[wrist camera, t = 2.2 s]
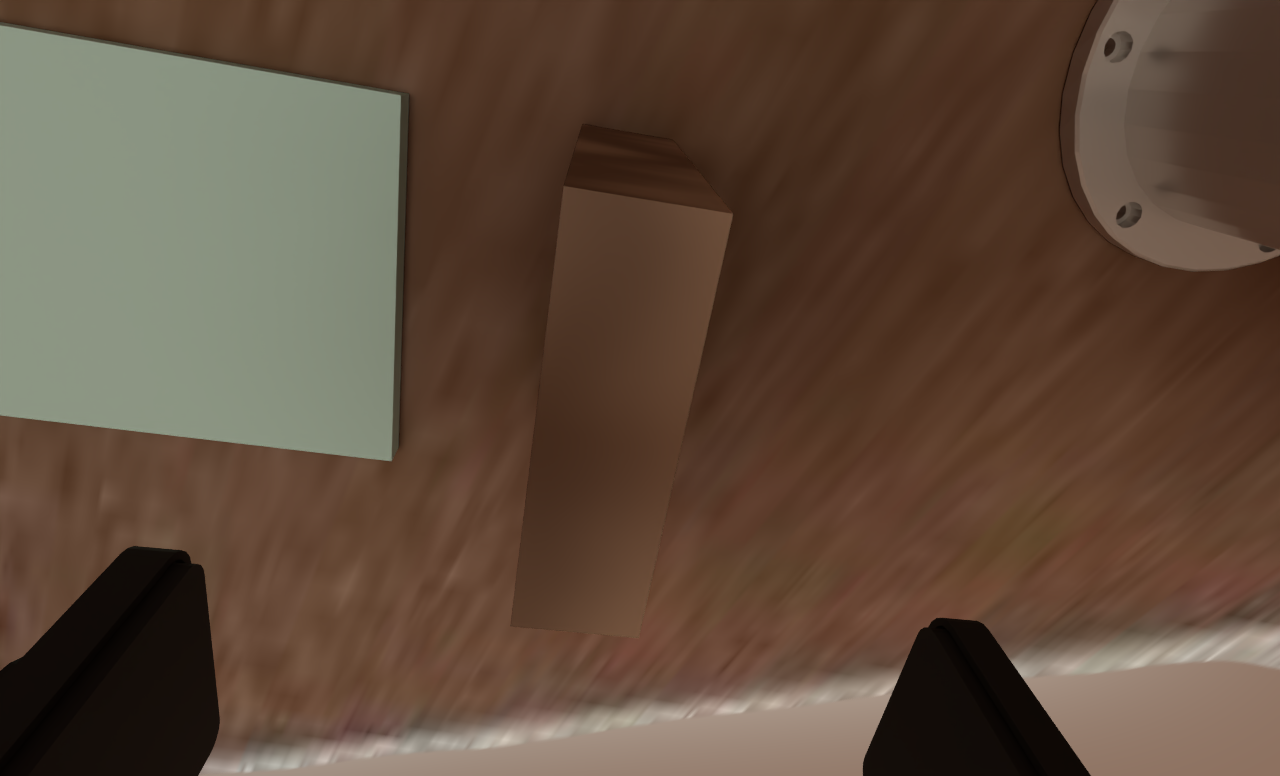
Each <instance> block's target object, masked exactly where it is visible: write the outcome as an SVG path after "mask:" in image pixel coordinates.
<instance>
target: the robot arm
mask: <svg viewBox="0 0 1280 776" xmlns="http://www.w3.org/2000/svg"><path fill="white" fill-rule="evenodd" d="M1106 43H1107V47H1106V50H1105V52H1104V49H1105V44H1106ZM1060 141H1061V151H1062V161H1063V168H1064V171H1065V174H1066V177H1067V180H1068V183H1069V186H1070V189H1071V192H1072V195H1073V198H1074V199H1075V201H1076V203H1077V204H1078V206H1079V207H1080V209H1081V211H1082V212H1083V214H1084V216H1085V217H1086V219H1087V221H1088V222H1089V223H1090V224H1091V225H1092V226H1093V227H1094V228H1095V229H1096V230H1097V231H1098V232H1099V233H1100V234H1101V235H1102V236H1103V237H1104V238H1105V239H1106V240H1107V241H1109V242H1110V243H1112V244H1114V245H1115V246H1117V247H1119V248H1121V249H1122V250H1124V251H1126V252H1128V253H1129V254H1131V255H1133V256H1135V257H1138V258H1141V259H1144V260H1147V261H1150V262H1152V263H1155V264H1158V265H1160V266H1163V267H1169V268H1174V269H1180V270H1186V271H1192V272H1197V271H1225V270H1230V269H1235V268H1240V267H1244V266H1249V265H1254V264H1258V263H1262V262H1264V261H1267V260H1269V259H1272V258H1275V257H1277V256H1280V0H1098V1H1097V3H1096V5H1095V6H1094V8H1093V9H1092V11H1091V13H1090V15H1089V18H1088V20H1087V22H1086V25H1085V27H1084V29H1083V32H1082V34H1081V36H1080V39H1079V41H1078V43H1077V46H1076V48H1075V50H1074V53H1073V56H1072V60H1071V64H1070V68H1069V72H1068V76H1067V79H1066V83H1065V87H1064V91H1063V98H1062V109H1061V121H1060ZM219 724H220V717H219V707H218V698H217V688H216V679H215V669H214V660H213V650H212V641H211V632H210V622H209V613H208V603H207V594H206V584H205V575H204V570H203V568H202V566H201V565H198V564H191V560H190V556H189V555H188V554H187V552H185V551H182V550H172V549H161V548H149V547H138V546H133V547H130V548H127V549H126V550H125V551H123V552H122V553H121V554H120V555H119V556H118V557H117V558H116V559H115V560H114V561H113V562H112V563H111V564H110V566H109V567H108V568H107V569H106V570H105V571H104V572H103V573H102V574H101V575H100V576H99V577H98V578H97V579H96V580H95V581H94V582H93V583H92V585H91V586H90V587H89V588H88V589H87V590H86V591H85V592H84V593H83V594H82V595H81V596H80V597H79V598H78V599H77V600H76V601H75V602H74V604H73V605H72V606H71V607H70V608H69V609H68V610H67V611H66V612H65V613H64V614H63V615H62V616H61V617H60V618H59V619H58V620H57V621H56V623H55V624H54V625H53V626H52V627H51V628H50V629H49V630H48V631H47V632H46V633H45V634H44V635H43V636H42V637H41V638H40V639H39V640H38V642H37V643H36V644H35V645H34V646H33V647H32V648H31V649H30V650H29V651H28V652H27V653H26V654H25V655H24V656H23V657H22V658H19V659H17V660H15V661H13V662H11V663H9V664H8V665H7V666H6V667H4V668H3V669H2V670H1V671H0V776H198V775H199V773H200V771H201V770H202V768H203V766H204V764H205V762H206V760H207V759H208V757H209V755H210V753H211V751H212V749H213V747H214V744H215V741H216V738H217V734H218V730H219ZM863 776H1091V775H1090V774H1089V772H1088V771H1087V770H1086V768H1085V767H1084V765H1083V764H1082V763H1081V761H1080V760H1079V758H1078V757H1077V755H1076V754H1075V752H1074V751H1073V750H1072V748H1071V747H1070V745H1069V744H1068V742H1067V741H1066V740H1065V738H1064V737H1063V735H1062V734H1061V732H1060V731H1059V730H1058V728H1057V727H1056V725H1055V724H1054V722H1053V721H1052V720H1051V718H1050V717H1049V715H1048V714H1047V712H1046V711H1045V710H1044V708H1043V707H1042V705H1041V704H1040V702H1039V701H1038V700H1037V698H1036V697H1035V695H1034V694H1033V692H1032V691H1031V690H1030V688H1029V687H1028V685H1027V684H1026V683H1025V681H1024V680H1023V678H1022V677H1021V675H1020V674H1019V672H1018V671H1017V670H1016V668H1015V667H1014V665H1013V664H1012V662H1011V661H1010V660H1009V658H1008V657H1007V655H1006V654H1005V653H1004V651H1003V650H1002V648H1001V647H1000V645H999V644H998V643H997V641H996V640H995V638H994V637H993V635H992V634H991V633H990V631H989V630H988V629H987V628H986V626H985V625H984V624H982V623H980V622H978V621H971V620H960V619H949V618H936V619H935V620H933V621H932V622H931V624H930V625H929V627H928V628H923V629H921V630H920V631H919V633H918V635H917V637H916V639H915V642H914V644H913V646H912V649H911V651H910V653H909V656H908V658H907V660H906V663H905V665H904V667H903V670H902V672H901V674H900V676H899V679H898V681H897V683H896V686H895V688H894V690H893V693H892V695H891V697H890V700H889V702H888V704H887V707H886V709H885V711H884V714H883V716H882V718H881V720H880V723H879V725H878V728H877V730H876V732H875V735H874V737H873V739H872V741H871V744H870V746H869V748H868V751H867V753H866V755H865V758H864V762H863Z"/></svg>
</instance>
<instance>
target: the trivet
mask: <svg viewBox="0 0 1280 776" xmlns="http://www.w3.org/2000/svg"><path fill="white" fill-rule="evenodd" d="M408 114H409V94H408V93H402V92H397V91H391V90H385V89H379V88H374V87H368V86H362V85H357V84H351V83H345V82H340V81H334V80H328V79H322V78H317V77H311V76H305V75H300V74H294V73H288V72H282V71H277V70H271V69H265V68H260V67H254V66H248V65H243V64H237V63H231V62H225V61H220V60H214V59H208V58H203V57H197V56H191V55H186V54H180V53H174V52H168V51H163V50H157V49H151V48H146V47H140V46H134V45H129V44H123V43H117V42H111V41H106V40H100V39H94V38H89V37H83V36H77V35H71V34H66V33H60V32H54V31H49V30H43V29H37V28H32V27H26V26H20V25H14V24H9V23H3V22H0V415H3V416H11V417H20V418H28V419H37V420H45V421H54V422H62V423H71V424H79V425H88V426H96V427H105V428H113V429H122V430H130V431H139V432H147V433H156V434H164V435H173V436H181V437H190V438H198V439H207V440H216V441H224V442H233V443H241V444H250V445H258V446H267V447H275V448H284V449H292V450H301V451H309V452H318V453H326V454H335V455H343V456H352V457H360V458H369V459H377V460H386V461H392V459H393V457H394V456H395V454H396V452H397V450H398V448H399V414H400V381H401V348H402V314H403V281H404V248H405V214H406V181H407V148H408Z"/></svg>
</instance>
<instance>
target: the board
mask: <svg viewBox="0 0 1280 776" xmlns="http://www.w3.org/2000/svg"><path fill="white" fill-rule="evenodd" d="M732 218H733V213H732V212H731V211H730V209H729V208H728V207H727V206H726V204H725V203H724V202H723V201H722V199H721V198H720V197H719V196H718V195H717V193H716V192H715V191H714V190H713V188H712V187H711V186H710V185H709V184H708V182H707V181H706V180H705V179H704V177H703V176H702V175H701V174H700V172H699V171H698V170H697V169H696V168H695V166H694V165H693V164H692V163H691V161H690V160H689V159H688V158H687V157H686V155H685V154H684V153H683V152H682V150H681V149H680V148H679V147H678V145H677V144H676V143H675V142H674V141H673V140H671V139H665V138H660V137H654V136H648V135H643V134H637V133H631V132H625V131H620V130H614V129H608V128H603V127H597V126H591V125H586V124H582V127H581V130H580V134H579V137H578V140H577V144H576V147H575V150H574V153H573V157H572V160H571V163H570V167H569V170H568V173H567V177H566V180H565V183H564V187H563V195H562V204H561V212H560V220H559V228H558V237H557V245H556V253H555V261H554V270H553V278H552V286H551V294H550V303H549V311H548V319H547V327H546V336H545V344H544V352H543V360H542V369H541V377H540V385H539V393H538V402H537V410H536V418H535V427H534V435H533V443H532V451H531V460H530V468H529V476H528V484H527V493H526V501H525V509H524V517H523V526H522V534H521V542H520V550H519V559H518V567H517V575H516V583H515V592H514V600H513V608H512V616H511V625H510V626H513V627H523V628H534V629H545V630H556V631H566V632H577V633H588V634H598V635H609V636H620V637H631V638H639V635H640V630H641V626H642V621H643V617H644V612H645V608H646V603H647V599H648V594H649V590H650V585H651V581H652V576H653V572H654V567H655V563H656V558H657V554H658V549H659V545H660V541H661V536H662V532H663V527H664V523H665V518H666V514H667V509H668V505H669V500H670V496H671V491H672V487H673V482H674V478H675V473H676V469H677V464H678V460H679V455H680V451H681V446H682V442H683V437H684V433H685V428H686V424H687V419H688V415H689V410H690V406H691V401H692V397H693V392H694V388H695V384H696V379H697V375H698V370H699V366H700V361H701V357H702V352H703V348H704V343H705V339H706V334H707V330H708V325H709V321H710V316H711V312H712V307H713V303H714V298H715V294H716V289H717V285H718V280H719V276H720V271H721V267H722V262H723V258H724V253H725V249H726V244H727V240H728V235H729V231H730V226H731V222H732Z"/></svg>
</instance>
